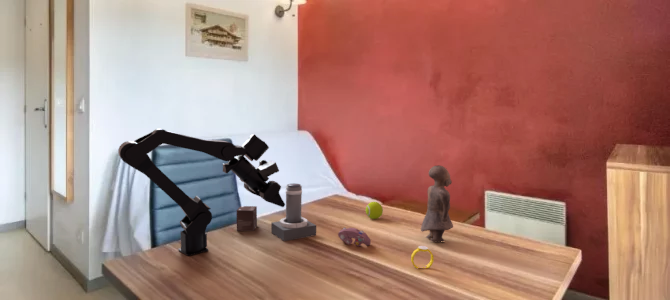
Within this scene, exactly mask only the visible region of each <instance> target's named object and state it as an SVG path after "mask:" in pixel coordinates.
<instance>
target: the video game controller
mask: <svg viewBox="0 0 670 300" xmlns="http://www.w3.org/2000/svg"><path fill="white" fill-rule="evenodd" d="M337 237H338V238H339V239H340V240H341V241H342V242H344V243H345V244H346V245H352V243H353V244H354V245H355V246H356V247H361V245H362V244H364V245H366V246H370V245H371V238H370V237H369V236H368V234H367V233H366V232H365V231H364V230H360V229H358V228H356V227H348V228H346V227H343V228H342V229H340V230H339V232H338V233H337ZM353 239H354V241H353Z"/></svg>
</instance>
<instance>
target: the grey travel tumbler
mask: <svg viewBox="0 0 670 300" xmlns="http://www.w3.org/2000/svg"><path fill="white" fill-rule="evenodd" d="M302 187H303V185H301V184H300V183H288V184H286V186H285V217H286V223H301V217H302V195H303V194H302V193H303V190H302Z"/></svg>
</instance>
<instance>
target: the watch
mask: <svg viewBox="0 0 670 300" xmlns="http://www.w3.org/2000/svg"><path fill="white" fill-rule="evenodd" d="M419 252H422V253H423V252H428V253H429V255H430V261H429V262H428V263H427V264H426V265H425V266H427V267H426V268H428V269H430V268H431V267H432V266H433V263H434V261H435V260H434V259H435V258H434V255H433V252H432V251H431V250H430V249H429V247H427V246H425V245H418V246H417V248H416V249H414V250H413V252H412V253H411V256H410V261H411V263H412V265H413V267H414V268H415V269H417V268H418V267H417V266H418V265H416V264H415V262H414V259H415V256H416V255H417V253H419ZM423 268H424V267H423Z"/></svg>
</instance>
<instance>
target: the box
mask: <svg viewBox="0 0 670 300" xmlns="http://www.w3.org/2000/svg"><path fill="white" fill-rule="evenodd" d="M257 208H258V206H256V205H255V206H253V205H252V206H249V205H248V206H247V205H246V206H245V205H242V206H239V207H237V210H236V231H245V232H246V231H255V229H256V228H257V226H258V217H257V216H258V215H257V214H258V210H257Z"/></svg>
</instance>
